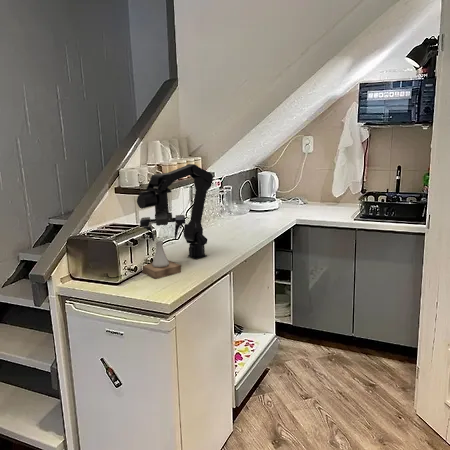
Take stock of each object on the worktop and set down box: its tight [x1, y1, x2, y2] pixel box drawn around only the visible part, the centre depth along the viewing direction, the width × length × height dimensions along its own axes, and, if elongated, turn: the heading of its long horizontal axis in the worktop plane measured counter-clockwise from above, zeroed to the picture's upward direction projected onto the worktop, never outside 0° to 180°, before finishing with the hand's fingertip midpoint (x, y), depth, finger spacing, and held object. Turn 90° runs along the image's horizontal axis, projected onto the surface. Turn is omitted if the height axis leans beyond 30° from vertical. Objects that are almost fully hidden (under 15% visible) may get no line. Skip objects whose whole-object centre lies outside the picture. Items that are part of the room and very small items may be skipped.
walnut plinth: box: [141, 259, 182, 280], centre depth 189 cm, size 12×12×3 cm
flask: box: [151, 240, 169, 267], centre depth 187 cm, size 7×7×10 cm
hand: (164, 240), depth 194 cm, fingers open, 9 cm apart
